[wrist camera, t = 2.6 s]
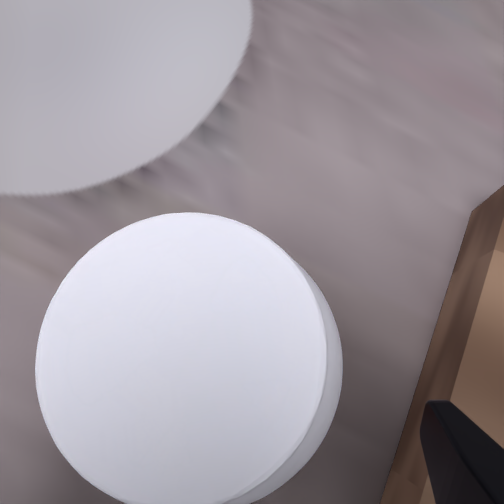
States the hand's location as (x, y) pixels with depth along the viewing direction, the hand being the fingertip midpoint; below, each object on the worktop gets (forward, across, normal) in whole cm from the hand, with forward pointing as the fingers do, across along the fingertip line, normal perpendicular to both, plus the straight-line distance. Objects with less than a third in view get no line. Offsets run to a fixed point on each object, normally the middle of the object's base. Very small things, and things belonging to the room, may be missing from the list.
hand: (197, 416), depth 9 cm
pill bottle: (+7, 0, +6) cm, 9 cm away
